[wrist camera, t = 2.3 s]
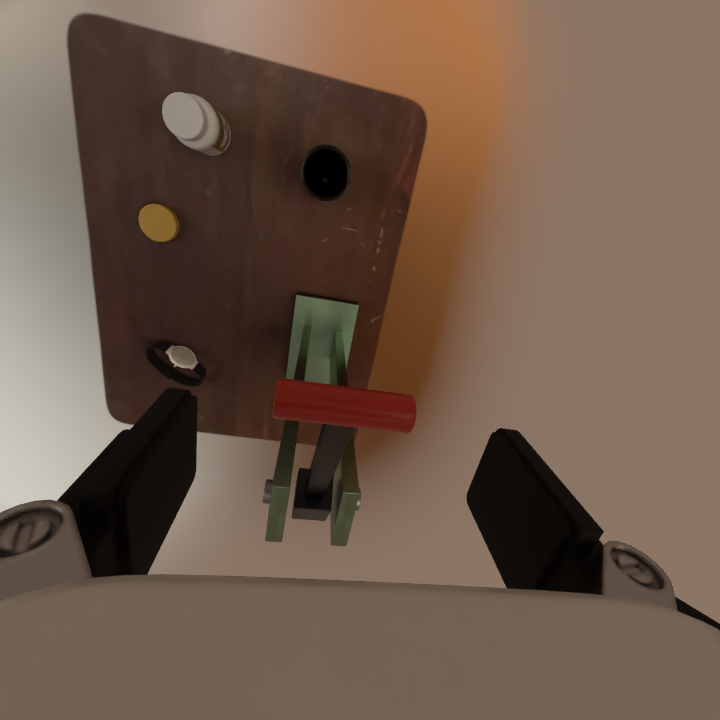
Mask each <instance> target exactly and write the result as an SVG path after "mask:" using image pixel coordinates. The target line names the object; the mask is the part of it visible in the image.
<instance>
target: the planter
mask: <svg viewBox="0 0 720 720" xmlns="http://www.w3.org/2000/svg"><path fill="white" fill-rule="evenodd" d="M300 177H301V181H302V184H303V186H304V188H305V190H306V191H307V193H308V194H309V195H310V196H311V197H313V198H314V199H316V200H318V201H321V202H326V203H329V202H333V201H336V200H338V199H339V198H341V197H342V196H343V195H344V194H345V193H346V192H347V190H348V188H349V186H350V183H351V177H352V171H351V166H350V163H349V160H348V158H347V157H346V155H345V154H344V153H343V152H342V151H341V150H340V149H339V148H337V147H335V146H333V145H329V144H320V145H316V146H314V147H313V148H311V149H310V150H309V151H308V152H307V153H306V154H305V156H304V157H303V159H302V162H301V166H300Z"/></svg>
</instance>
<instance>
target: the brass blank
mask: <svg viewBox="0 0 720 720" xmlns="http://www.w3.org/2000/svg"><path fill="white" fill-rule="evenodd" d="M139 225H140V227H141V229H142V231H143V232H144V233H145V235H147V236H148V237H149V238H150V239H152V240H155V241H158V242H165V241H169V240H172V239H174V238H175V237H176V236H177V234H178V232H179V221H178V218H177V216H176V215H175V213H174V212H173V211H172V210H171V209H170V208H168V207H167V206H165V205H162V204H149V205H146V206H145V207H143V208H142V210H141V211H140V213H139Z"/></svg>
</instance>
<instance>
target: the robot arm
mask: <svg viewBox="0 0 720 720" xmlns="http://www.w3.org/2000/svg"><path fill="white" fill-rule="evenodd" d="M196 444H197V397H196V396H193V395H191V392H190V390H184V389H176V388H167V389H166V390H165V391H164V392H163V393H162V394H161V396H160V397H159V398H158V399H157V400H156V401H155V402H154V403H153V405H152V406H151V407H150V408H149V409H148V410H147V411H146V412H145V414H144V415H143V416H142V417H141V418H140V419H139V420H138V421H137V423H136V424H135V425H134V426H133V427H132V428H131V429H130V430H128V429H127V430H123V431H122V432H120V433H119V434H118V435H117V436H116V437H115V439H114V440H113V441H112V442H111V443H110V444H109V445H108V446H107V447H106V448H105V449H104V450H103V452H102V453H101V454H100V455H99V456H98V457H97V458H96V459H95V460H94V461H93V462H92V463H91V465H90V466H89V467H88V468H87V469H86V470H85V471H84V472H83V473H82V474H81V476H79V478H78V479H77V480H76V481H75V482H74V483H73V484H72V485H71V486H70V487H69V488H68V489H67V491H66V492H65V493H64V494H63V495H62V496H61V497H60V498H59V499H58V501H53V500H43V501H42V500H41V501H33V502H29V503H25V504H20V505H17V506H15V507H13V508H10V509H8V510H5V511H3V512H1V513H0V720H720V624H719V623H717V622H715V621H714V620H713V619H711V618H709V617H708V616H706V615H704V614H702V613H701V612H699V611H698V610H696V609H694V608H693V607H691V606H689V605H688V604H686V603H685V602H683V601H681V600H680V599H678V598H676V597H675V595H674V591H673V586H672V584H671V581H670V579H669V578H668V576H667V575H666V573H665V572H664V571H663V570H662V569H661V568H660V567H659V566H658V564H656V563H655V562H654V561H653V560H652V559H651V558H649V557H648V556H647V555H645V554H644V553H642V552H641V551H639V550H637V549H636V548H634V547H632V546H630V545H627V544H625V543H621V542H617V541H609V542H607V543H606V544H604V545H603V544H602V543H601V542H600V541H599V538H600V537H601V535H602V534H603V532H604V531H603V530H602V529H601V528H600V527H599V525H598V524H597V523H596V522H595V521H594V520H593V518H592V517H591V516H590V515H589V514H588V513H587V511H586V510H585V509H584V508H583V507H582V505H581V504H580V503H579V502H578V501H577V500H576V498H575V497H574V496H573V495H572V494H571V492H570V491H569V490H568V489H567V488H566V487H565V486H564V484H563V483H562V482H561V481H560V479H558V477H557V476H556V475H555V474H554V472H553V471H552V470H551V469H550V468H549V466H548V465H547V464H546V463H545V462H544V461H543V459H542V458H541V457H540V456H539V455H538V454H537V452H536V451H535V450H534V449H533V448H532V446H531V445H530V444H529V443H528V442H527V441H526V439H525V438H524V437H523V436H522V435H521V434H520V432H518V431H517V430H510V429H502V428H500V429H498V430H497V431H496V432H493V433H492V434H491V436H490V438H489V441H488V443H487V446H486V448H485V451H484V453H483V455H482V458H481V460H480V463H479V465H478V468H477V470H476V473H475V475H474V478H473V480H472V483H471V485H470V488H469V490H468V493H467V503H468V506H469V508H470V511H471V512H472V515H473V517H474V519H475V521H476V523H477V525H478V528H479V530H480V532H481V534H482V536H483V538H484V540H485V543H486V544H487V547H488V549H489V551H490V553H491V555H492V557H493V560H494V562H495V564H496V566H497V568H498V570H499V572H500V574H501V577H502V579H503V581H504V583H505V585H506V587H507V588H489V587H470V586H451V585H430V584H408V583H387V582H365V581H343V580H342V581H341V580H319V579H318V580H317V579H294V578H269V577H244V576H208V575H207V576H206V575H165V574H163V575H161V574H160V575H147V574H148V572H149V570H150V568H151V565H152V564H153V562H154V560H155V557H156V555H157V553H158V551H159V549H160V547H161V545H162V543H163V541H164V539H165V537H166V535H167V533H168V531H169V529H170V527H171V525H172V523H173V521H174V519H175V517H176V515H177V513H178V511H179V509H180V507H181V505H182V503H183V501H184V499H185V497H186V495H187V492H188V490H189V488H190V486H191V484H192V482H193V480H194V477H195V472H196V446H197V445H196Z"/></svg>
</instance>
